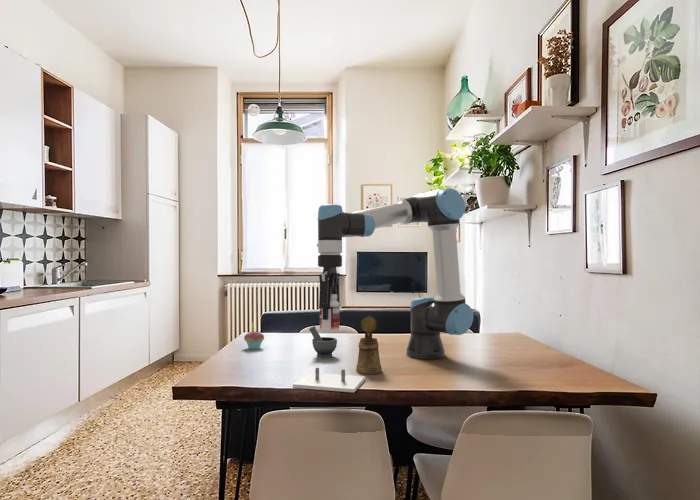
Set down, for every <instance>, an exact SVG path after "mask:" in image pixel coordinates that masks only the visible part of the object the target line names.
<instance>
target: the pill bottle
mask: <svg viewBox="0 0 700 500" xmlns="http://www.w3.org/2000/svg"><path fill="white" fill-rule="evenodd" d="M336 299H337V294H331V301H330V309H331V331H330V332H336V331H339V330H340V317H341V316H340V313H341V312H340V309H341V303H339V302H338V301H337V300H336ZM319 330H320V331H324V332H327V331H326V330H322V309H319Z"/></svg>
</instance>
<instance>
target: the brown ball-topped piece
mask: <svg viewBox="0 0 700 500" xmlns="http://www.w3.org/2000/svg"><path fill="white" fill-rule="evenodd" d="M360 329H361V331H362V332H363V333H364V337H360V339H359V342H358V349H359V350H358V354H357V355H358V356H357V364H356V366H355V367H356V368H355V369H356V371H355V372H356V373H359V374H362V375H377V374H381V373H382V372H383V369H382V365H381V359H380V352H379V351H380V350H379V342H378V338H376V337H375V338H373V333H375V332H376V331H377V330H378V321H377V320H376V318H374V317H373V316H372V315H368V316H366V317H364V318H363V319H362V320H361V321H360Z"/></svg>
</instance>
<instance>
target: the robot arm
mask: <svg viewBox="0 0 700 500" xmlns="http://www.w3.org/2000/svg"><path fill="white" fill-rule="evenodd" d="M465 212H466V203H465V199H464V196H462V194H461V193H460V192H459V190H457V189H455V188H450V187H448V188H440V189H435V190H430V191H425V192H421V193H418V194H415V195H413V196H410V197H406V198H404V199H398V201H397V202H396V203H391V204H386V205H382V206H378V207H372V208H367V209H364V210H358V211H354V212H345V211H343V207H342V205H340V204H336V203H335V204H334V203H333V204H331V203H330V204H329V203H327V204H321V205H320V206H319V207H318V214H317V238H318V239H317V243H316V247H317V251H318V254H319V255H317V266H318V268H319V267H320V268H323V269H322V270H323V271H322V273H320V274H319V275H318V277H319V295H318V296H319V298H318V299H319V302H318V310H320V309H322V330H326V331H325V332H332V331H331V309H330V301H331V294H337V299H336V300H337V301H338V302H339V304H341V301H340V299H341V298H340V296H341V295H340V276H341V275H340V273H339V272H338V271H337V268H341V267H342V266H343V256H342V253H343V238H352V237H353V238H354V237H361V238H364V237H367V238H368V237H371V236H372V235H373V234H374V232H375V229H379V228H383V227H387V226H393V225H396V224H399V223H400V224H401V223H402V224H403V225H406V224H407V225H408V224H411V223H427V228H428V229H430V230H431V232H432V241H433V242H432V243H433V256H434V257H433V258H434V268H435V281H436V295H435V296H434V297H432V296H431V297H422V298H421V297H419V298H414V299H412V300H411V302H410V308H409V309H410V337H409V340H408V342H407V343H408V344H407V346H406V356H407V357H410V358H412V359H420V360H436V359H437V360H439V359H441V358H445V356H446V355H445V353H446V351H445V347H444V344H443V341H442V337H441V333H443V334H448V335H452V336H455V335H456V336H461V335H464V334H466V333H467V332H468V331H469V330H470V328H471V326H472V324H473V321H474V312H473V309H472V308H471V306H470V305H469V304H467V303H466V297H465V295H463V294H462V293H461V282H460V267H459V255H458V254H459V253H458V240H457V228H458V227H459V225H460V224H461V223H460V219H462V217H463V216H464V214H465ZM322 330H321V331H322Z"/></svg>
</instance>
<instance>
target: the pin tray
mask: <svg viewBox="0 0 700 500" xmlns="http://www.w3.org/2000/svg"><path fill="white" fill-rule="evenodd" d="M340 371H341V372H340V374H336V373H335V374H334V373H320V367H315V371H314V372H308V373H306V374H305V375H303V376H302V377H301V378H299V379H298V380H297V381H295V382H294V383H293V384H292V388H295V389H305V390H316V391H317V390H318V391H327V392H328V391H330V392H331V391H332V392H343V393H352V394H353V393H355V392H356V391H357V390H358V389H359V388H360V386H362V384H363V383H364V382H365V381H366V376H364V375H360V376H359V375H348V374H346V369H344V368H343V369H341V370H340ZM358 387H359V388H358Z"/></svg>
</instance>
